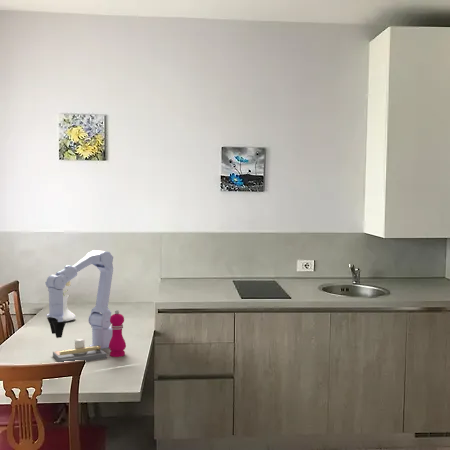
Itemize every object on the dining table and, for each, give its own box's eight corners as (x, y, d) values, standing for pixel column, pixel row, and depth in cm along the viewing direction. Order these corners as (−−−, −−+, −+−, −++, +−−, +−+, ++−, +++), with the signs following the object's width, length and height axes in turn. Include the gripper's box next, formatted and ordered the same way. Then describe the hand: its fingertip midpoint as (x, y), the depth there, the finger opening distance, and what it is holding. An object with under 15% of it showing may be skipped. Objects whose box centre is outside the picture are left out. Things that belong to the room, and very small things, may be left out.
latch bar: (99, 348, 244) (99, 345, 244) (101, 349, 242) (101, 346, 242) (59, 354, 235) (59, 350, 235) (60, 355, 233) (60, 352, 233)
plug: (84, 354, 246) (84, 337, 245) (89, 358, 240) (89, 341, 240) (70, 356, 243) (70, 339, 242) (74, 360, 237) (74, 342, 237)
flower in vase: (78, 321, 310) (78, 275, 308) (58, 323, 303) (57, 277, 302) (70, 316, 320) (70, 272, 319) (50, 319, 314) (49, 274, 312)
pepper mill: (110, 359, 240) (110, 312, 239) (107, 354, 247) (106, 309, 245) (127, 357, 243) (127, 311, 242) (123, 352, 250) (123, 307, 248)
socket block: (96, 351, 252) (96, 343, 252) (106, 359, 240) (106, 351, 240) (52, 357, 243) (52, 349, 242) (61, 366, 231) (61, 358, 230)
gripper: (42, 301, 243) (43, 332, 243) (50, 307, 230) (51, 340, 231) (59, 299, 246) (59, 330, 247) (67, 305, 233) (68, 338, 234)
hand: (56, 335), depth 239 cm, fingers open, 7 cm apart
